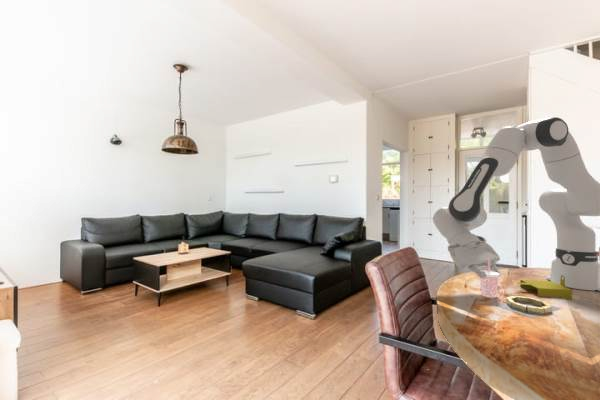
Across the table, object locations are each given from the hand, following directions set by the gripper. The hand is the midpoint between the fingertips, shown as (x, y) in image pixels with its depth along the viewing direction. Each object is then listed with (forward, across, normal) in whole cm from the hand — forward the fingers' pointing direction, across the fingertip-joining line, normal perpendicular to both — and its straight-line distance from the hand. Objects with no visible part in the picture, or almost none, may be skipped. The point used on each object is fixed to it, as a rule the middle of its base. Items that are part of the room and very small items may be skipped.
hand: (490, 275), depth 99 cm
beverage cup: (+5, 0, +6) cm, 8 cm away
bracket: (+10, +21, +3) cm, 23 cm away
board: (+14, 0, -2) cm, 14 cm away
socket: (+13, 0, -3) cm, 13 cm away
